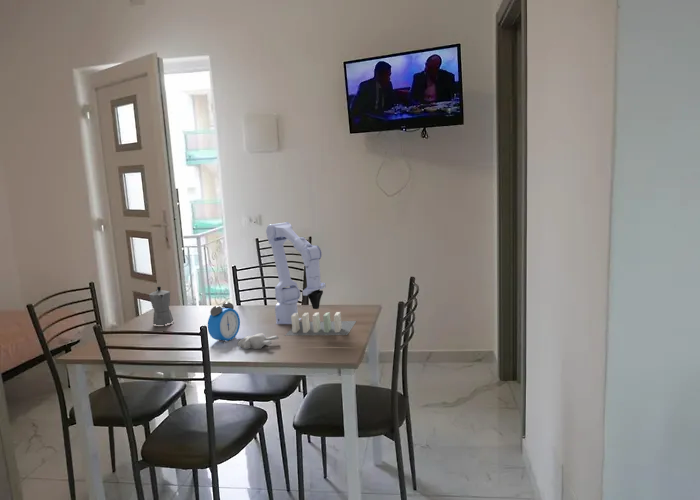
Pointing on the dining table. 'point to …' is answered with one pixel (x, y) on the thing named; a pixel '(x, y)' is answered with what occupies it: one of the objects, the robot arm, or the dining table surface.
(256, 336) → the bunny figurine
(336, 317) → the white flat block
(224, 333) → the alarm clock
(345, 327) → the mat
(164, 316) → the coffeepot
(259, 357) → the dining table surface
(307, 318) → the domino
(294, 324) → the domino
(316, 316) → the domino
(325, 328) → the domino
